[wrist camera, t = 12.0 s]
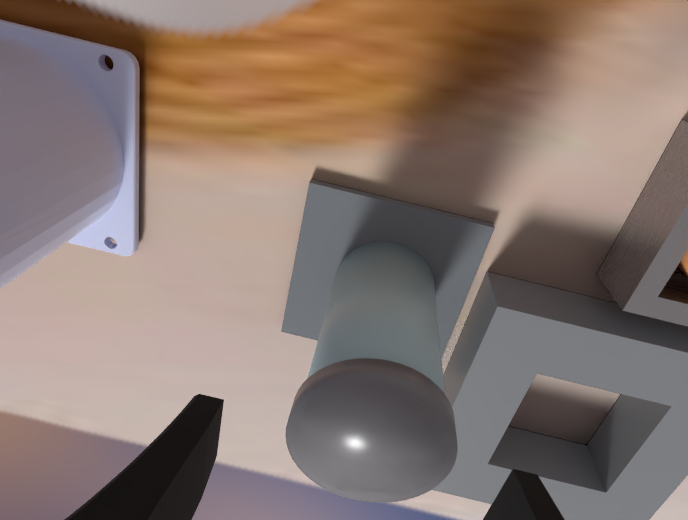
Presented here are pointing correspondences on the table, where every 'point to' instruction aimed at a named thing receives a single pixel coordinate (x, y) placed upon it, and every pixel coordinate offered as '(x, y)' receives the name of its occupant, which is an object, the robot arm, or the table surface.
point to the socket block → (579, 367)
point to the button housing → (655, 242)
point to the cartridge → (376, 383)
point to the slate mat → (375, 226)
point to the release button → (684, 264)
